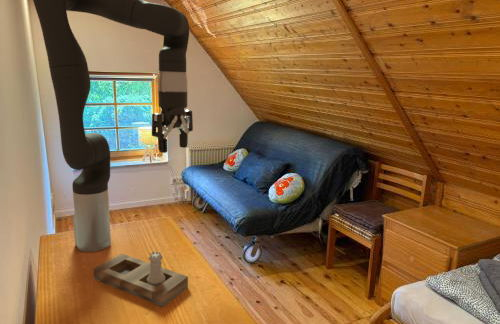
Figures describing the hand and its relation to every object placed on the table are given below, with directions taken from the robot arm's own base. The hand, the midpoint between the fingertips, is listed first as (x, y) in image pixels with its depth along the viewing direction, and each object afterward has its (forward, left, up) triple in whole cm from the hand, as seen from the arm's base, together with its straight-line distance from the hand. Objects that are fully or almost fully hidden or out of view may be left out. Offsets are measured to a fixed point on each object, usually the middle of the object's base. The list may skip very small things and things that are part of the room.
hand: (173, 149), depth 100 cm
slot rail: (+4, -18, -30) cm, 35 cm away
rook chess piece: (+9, -18, -29) cm, 35 cm away
